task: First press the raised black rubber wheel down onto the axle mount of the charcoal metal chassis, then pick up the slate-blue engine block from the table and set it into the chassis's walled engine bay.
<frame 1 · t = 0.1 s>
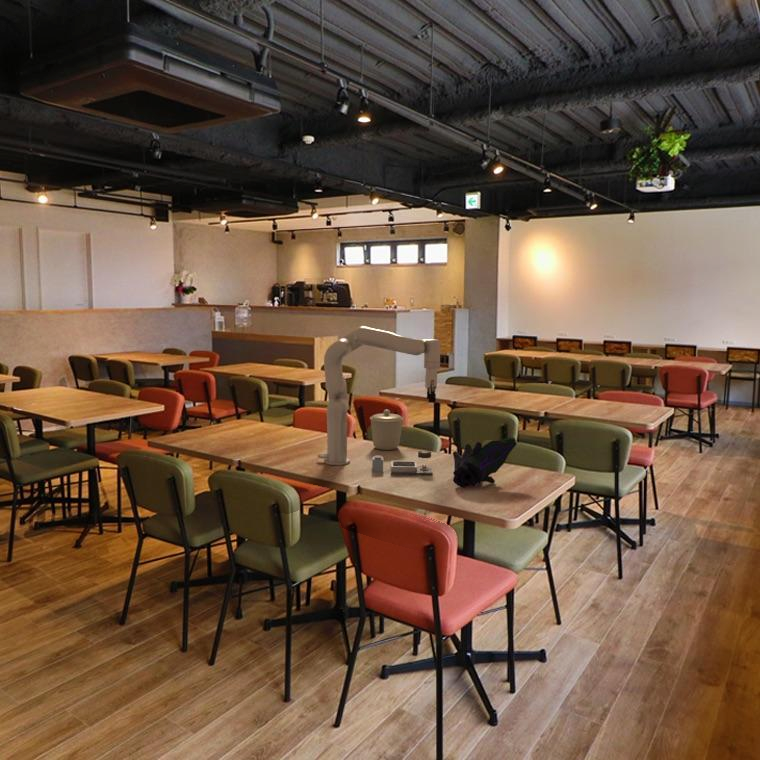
hand: (431, 400, 302), 31 cm above the table, fingers open, 9 cm apart
decorative plant: (477, 483, 276), on the table
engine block: (377, 470, 293), on the table
canister: (386, 448, 337), on the table
wheel: (424, 454, 291), point 8 cm above the table, slide at 4.0 cm
chassis: (411, 471, 292), on the table
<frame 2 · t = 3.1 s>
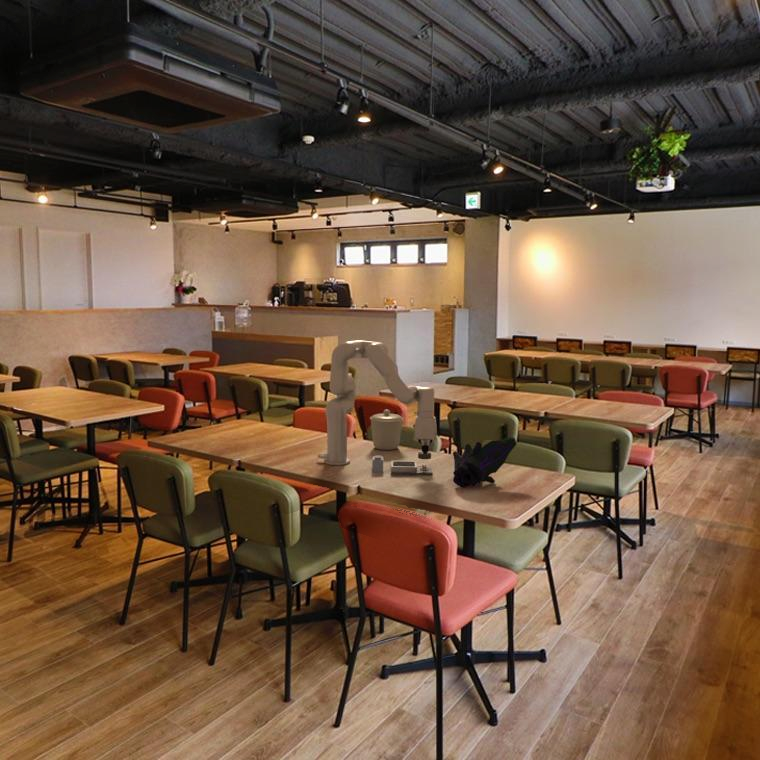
hand: (425, 453, 290), 9 cm above the table, fingers closed
wheel: (424, 455, 291), point 8 cm above the table, slide at 3.5 cm, touching gripper
everything else where it was.
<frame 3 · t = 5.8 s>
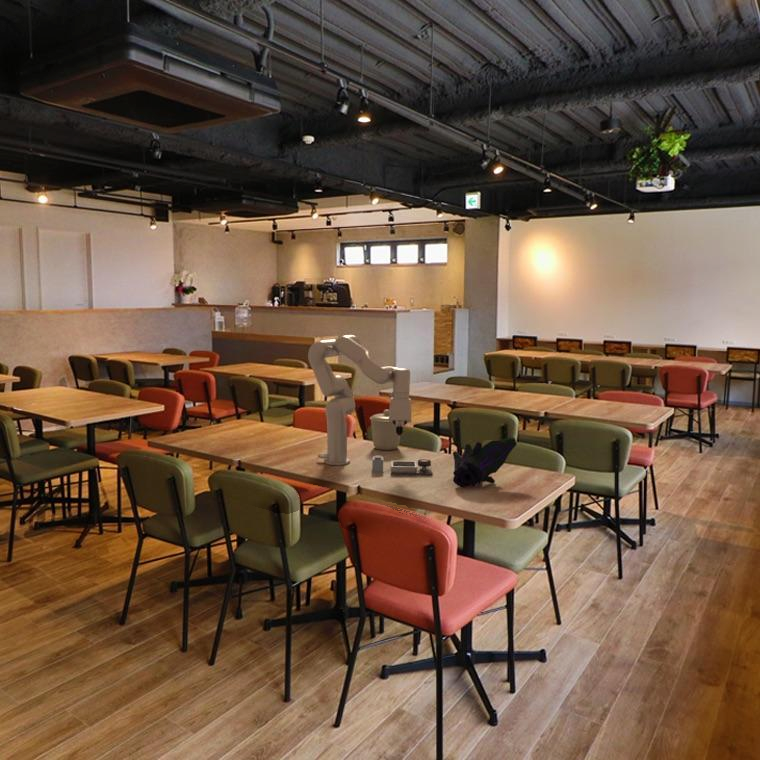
hand: (399, 434, 290), 17 cm above the table, fingers closed
wheel: (424, 462, 291), point 4 cm above the table, slide at 0.0 cm
everything else where it was.
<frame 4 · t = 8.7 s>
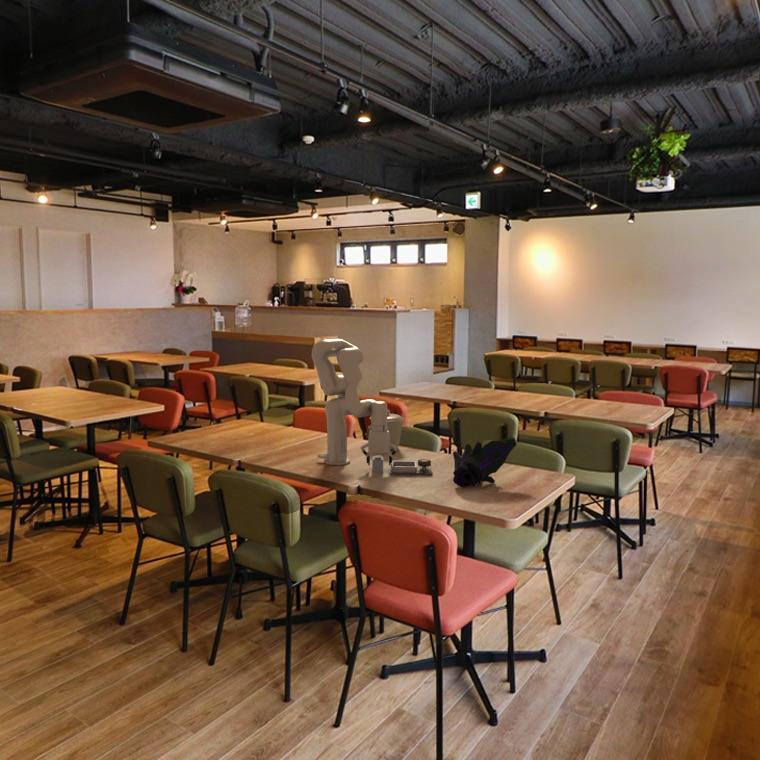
hand: (379, 464, 292), 3 cm above the table, fingers open, 9 cm apart
nothing on the table moved.
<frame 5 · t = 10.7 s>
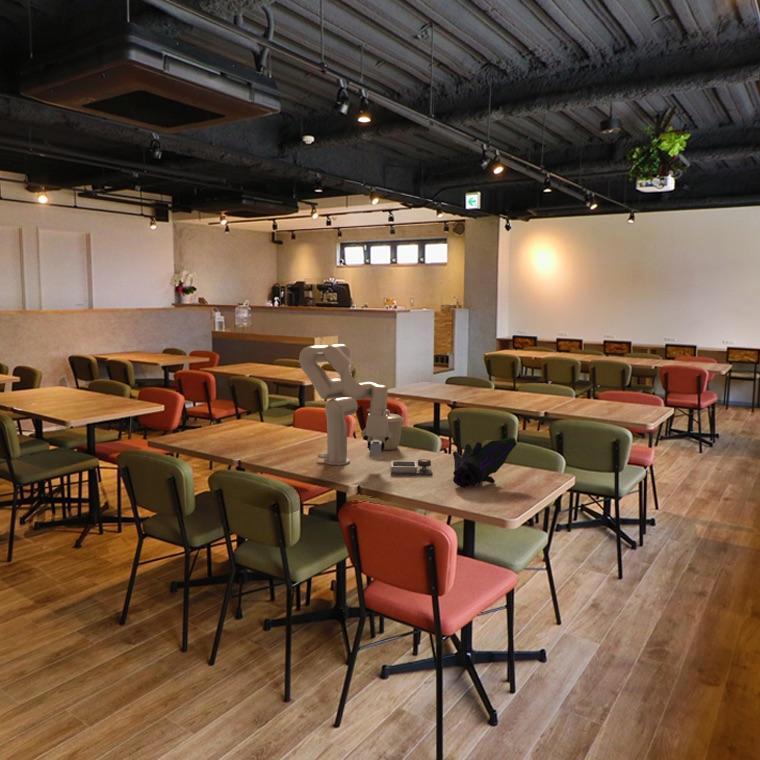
hand: (375, 449, 292), 10 cm above the table, fingers closed on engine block, 5 cm apart
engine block: (375, 454, 293), point 7 cm above the table, touching gripper
everything else where it was.
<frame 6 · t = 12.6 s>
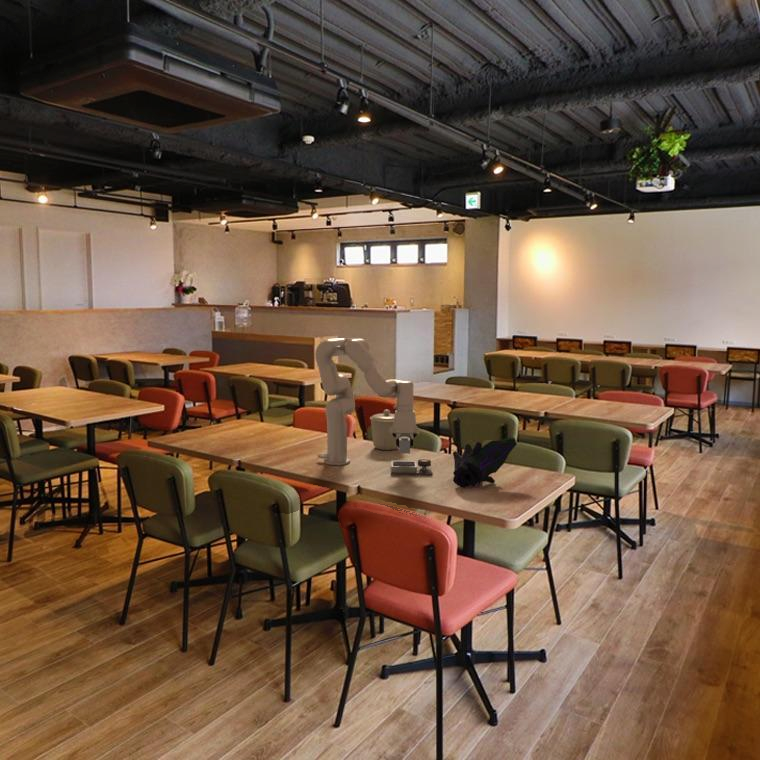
hand: (404, 446, 290), 12 cm above the table, fingers closed on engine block, 5 cm apart
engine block: (404, 451, 291), point 9 cm above the table, touching gripper
everything else where it was.
when the fingers open (4 cm above the table, at t = 14.7 s): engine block stays where it is, resting on chassis.
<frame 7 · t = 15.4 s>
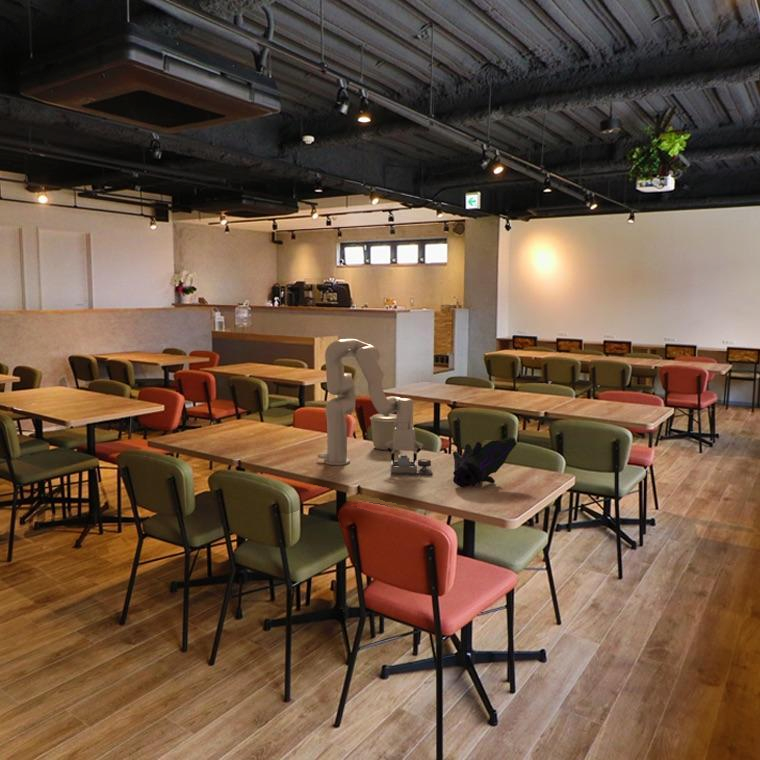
hand: (403, 461, 291), 5 cm above the table, fingers open, 9 cm apart
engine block: (403, 469, 292), point 1 cm above the table, touching chassis
everything else where it was.
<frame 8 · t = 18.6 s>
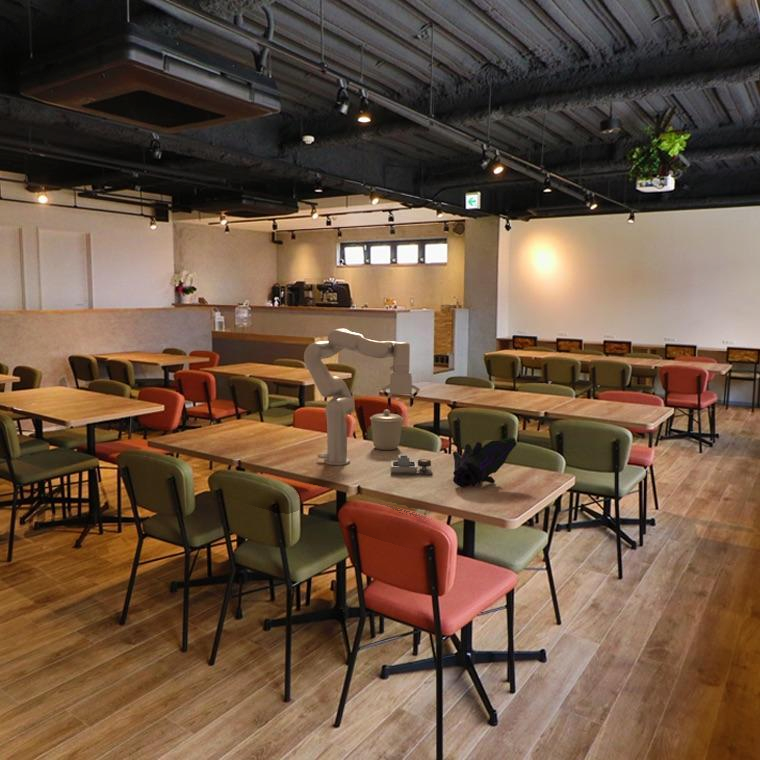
hand: (400, 406, 290), 30 cm above the table, fingers open, 9 cm apart
nothing on the table moved.
at the end: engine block 0.2 cm from the target spot on the chassis, point 1.2 cm above the chassis's base; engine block tilted 0°; wheel slide at 0.0 cm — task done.
